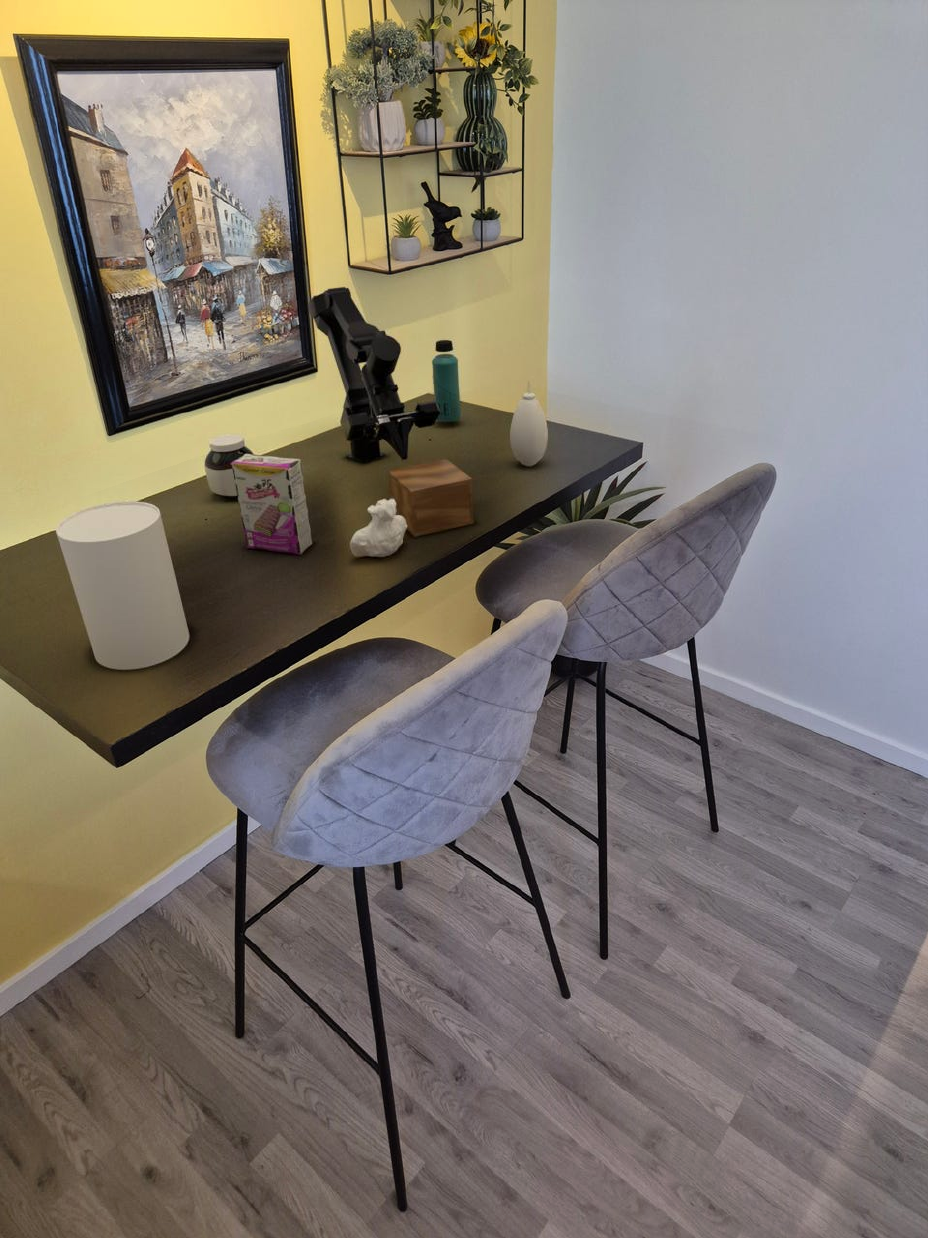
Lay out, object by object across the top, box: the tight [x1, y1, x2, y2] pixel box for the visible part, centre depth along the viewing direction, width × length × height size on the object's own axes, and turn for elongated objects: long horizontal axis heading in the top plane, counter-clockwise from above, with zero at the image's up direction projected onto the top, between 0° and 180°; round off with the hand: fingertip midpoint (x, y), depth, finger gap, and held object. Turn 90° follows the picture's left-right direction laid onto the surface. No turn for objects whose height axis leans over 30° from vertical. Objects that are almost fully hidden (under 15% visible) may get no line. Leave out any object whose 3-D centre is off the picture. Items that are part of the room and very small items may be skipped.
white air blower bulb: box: [509, 380, 549, 467], centre depth 181 cm, size 8×8×18 cm
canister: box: [55, 500, 190, 671], centre depth 123 cm, size 14×14×20 cm
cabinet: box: [387, 458, 475, 538], centre depth 161 cm, size 12×12×9 cm
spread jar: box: [204, 433, 255, 501], centre depth 177 cm, size 12×11×12 cm
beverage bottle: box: [431, 339, 462, 423], centre depth 207 cm, size 6×7×20 cm
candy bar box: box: [231, 454, 313, 555], centre depth 151 cm, size 11×5×16 cm, turn 71°
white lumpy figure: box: [349, 498, 407, 558], centre depth 149 cm, size 12×8×11 cm
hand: (405, 458), depth 169 cm, fingers closed
